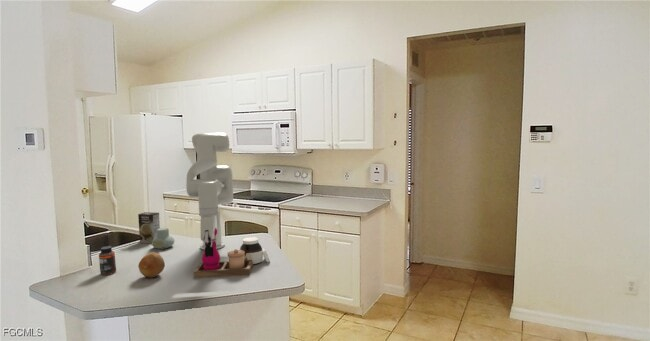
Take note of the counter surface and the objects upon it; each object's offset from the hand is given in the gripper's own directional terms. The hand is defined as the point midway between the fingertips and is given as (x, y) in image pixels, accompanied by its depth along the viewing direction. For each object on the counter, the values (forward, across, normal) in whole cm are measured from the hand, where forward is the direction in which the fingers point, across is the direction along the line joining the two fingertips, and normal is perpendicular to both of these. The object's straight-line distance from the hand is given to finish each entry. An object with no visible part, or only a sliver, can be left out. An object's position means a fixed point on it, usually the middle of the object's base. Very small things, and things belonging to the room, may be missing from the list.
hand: (210, 253), depth 155 cm
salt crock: (+8, 0, +10) cm, 13 cm away
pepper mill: (+7, 0, 0) cm, 7 cm away
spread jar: (+9, -11, +17) cm, 22 cm away
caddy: (+9, 0, +5) cm, 10 cm away
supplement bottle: (+9, -9, -46) cm, 48 cm away
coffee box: (+10, -58, -47) cm, 75 cm away
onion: (+9, -2, -25) cm, 27 cm away
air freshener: (+10, -45, -35) cm, 58 cm away
